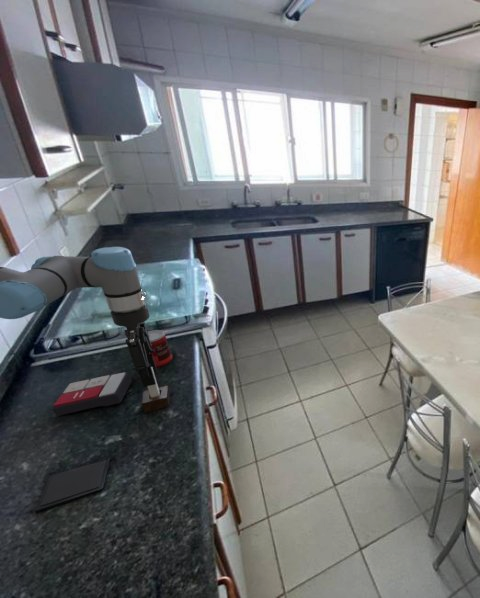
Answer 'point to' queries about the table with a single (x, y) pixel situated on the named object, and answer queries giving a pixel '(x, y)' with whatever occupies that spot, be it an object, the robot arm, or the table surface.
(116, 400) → the red grey flat block
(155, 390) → the white square rod
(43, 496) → the plate
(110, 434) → the table surface
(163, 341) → the canned food
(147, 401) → the pen stand
